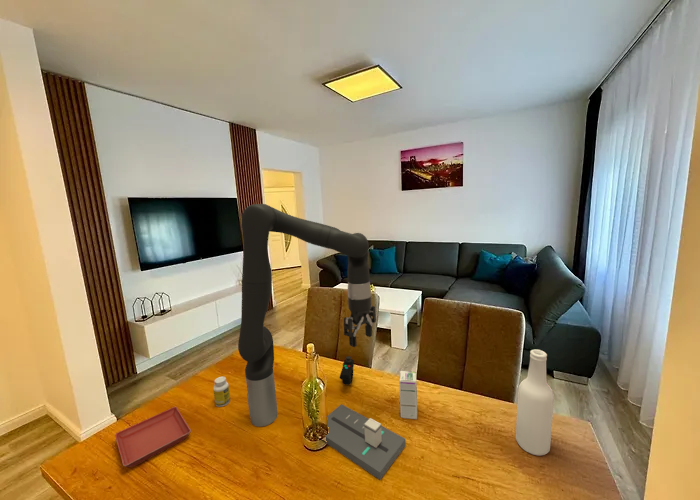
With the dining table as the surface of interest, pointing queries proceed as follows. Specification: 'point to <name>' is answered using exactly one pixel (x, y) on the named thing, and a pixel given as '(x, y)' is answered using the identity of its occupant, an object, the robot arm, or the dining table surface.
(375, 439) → the fader tab
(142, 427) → the plant saucer
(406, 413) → the syrup box
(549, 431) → the alcohol
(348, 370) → the controller
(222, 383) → the supplement bottle
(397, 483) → the dining table surface
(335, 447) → the console
